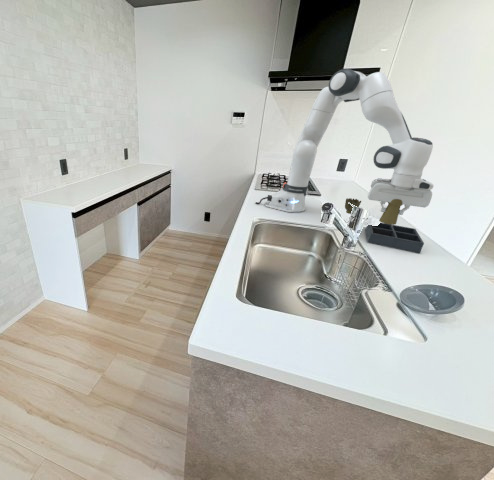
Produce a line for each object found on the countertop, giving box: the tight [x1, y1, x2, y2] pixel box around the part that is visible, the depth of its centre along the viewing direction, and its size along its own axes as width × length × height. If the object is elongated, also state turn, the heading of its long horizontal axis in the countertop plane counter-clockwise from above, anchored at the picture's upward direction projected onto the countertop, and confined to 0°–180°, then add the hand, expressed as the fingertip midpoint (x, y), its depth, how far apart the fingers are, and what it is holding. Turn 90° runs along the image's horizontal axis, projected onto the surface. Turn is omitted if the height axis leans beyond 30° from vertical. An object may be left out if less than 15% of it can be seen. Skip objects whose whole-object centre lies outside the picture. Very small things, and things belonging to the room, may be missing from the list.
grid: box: [365, 222, 425, 254], centre depth 117 cm, size 18×18×5 cm
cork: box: [378, 199, 404, 225], centre depth 110 cm, size 6×6×11 cm
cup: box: [344, 197, 362, 215], centre depth 148 cm, size 8×7×8 cm
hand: (391, 213), depth 111 cm, fingers closed on cork, 4 cm apart
